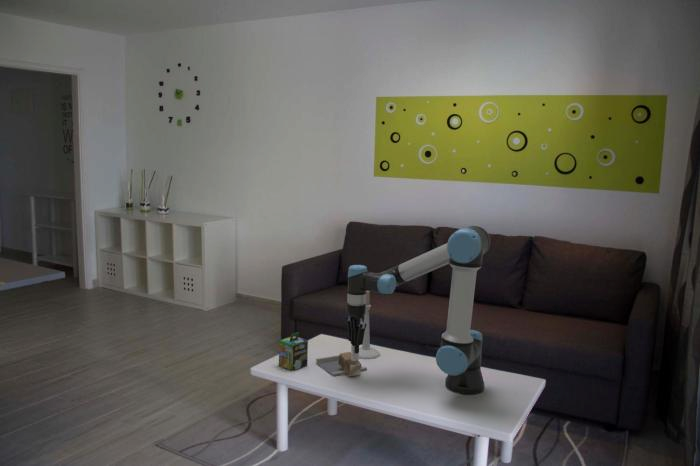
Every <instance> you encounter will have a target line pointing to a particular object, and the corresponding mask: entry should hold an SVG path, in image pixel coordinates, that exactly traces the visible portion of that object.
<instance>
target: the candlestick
mask: <svg viewBox="0 0 700 466" xmlns="http://www.w3.org/2000/svg"><path fill="white" fill-rule="evenodd" d="M370 294H371V291H366V303H365V305H366V312H365V314H364V317H363V323H364V324H366V325H367V326H366V328H365V333H364V338H363V344H362V345H361V347H360V346H359V359H362V360H373V359H376V358H378V357H380V356H381V353H380V351H378V350H377V349H376V348H373V347H371V343H370V342H371V341H370V338H371V337H370V332H371V331H370V310H371V307H372V305H371V304H370V299H371V298H370V297H371V296H370Z"/></svg>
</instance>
